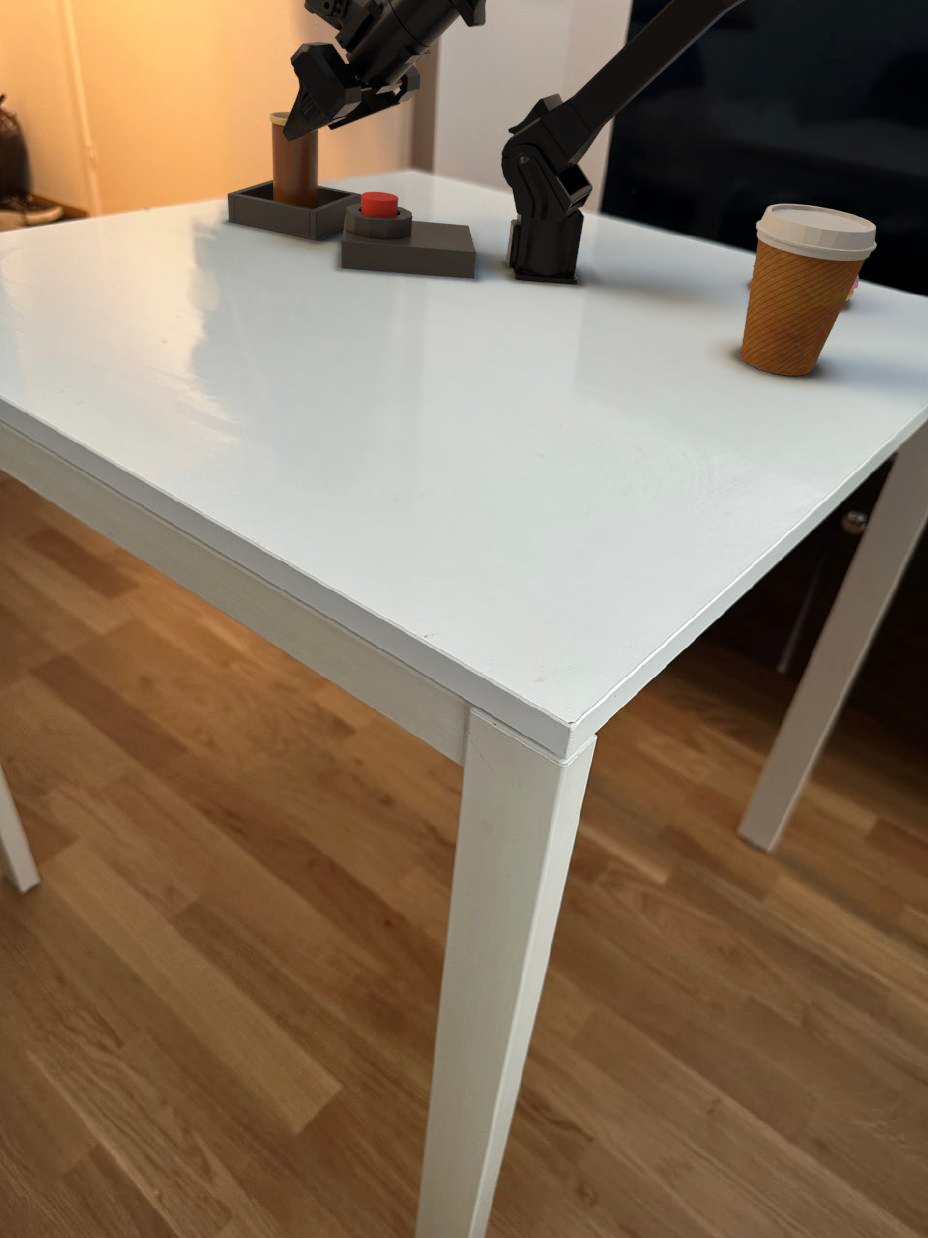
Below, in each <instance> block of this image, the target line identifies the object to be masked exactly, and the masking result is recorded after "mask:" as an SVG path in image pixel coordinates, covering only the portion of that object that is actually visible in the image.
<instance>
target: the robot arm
mask: <svg viewBox="0 0 928 1238" xmlns="http://www.w3.org/2000/svg"><path fill="white" fill-rule="evenodd" d="M744 1H745V0H670V1H669V2H668V3H667V4H666V5H665V6H664V7H663V8H662V9H661V10H660V11H658V13H657V14H655V16H653V18H652V19H650V21H648V22H647V24H645V25H644V26H643V27H642V28H641V29H640V30H639V31H638V33H636V35H634V36H633V37H632V38H631V39H630V40H629V41H628V42H627V43H626V44H625V45H624V46H623V47H622V48H621V49H620V50H619V51H618V52H617V53H615V55H614V56H613V57H611V58H610V60H608V61H607V63H606V64H605V65H603V67H601V68H600V69H599V70H598V71H597V73H595V74H594V75H593V76H592V77H591V78H590V79H589V80H588V81H587V82H586V83H585V84H584V85H582V87H580V89H579V90H578V91H577V92H576V93H574V95H572V96H571V97H569V98H568V99H567V100H564V101H563V100H562V97H561V95H560V93H558V92H557V93H554V94H551V95H548V96H545V97H542V98H539V99H538V101H537V102H536V103H535V104H534V105H533V107H532V108H531V109H530V111H529V112H528V114H527V115H526V116H525V118H524V119H523V120H522V121H520V122H519V123H518V124H517V125H514V126H511V127H509V128H508V129H507V132H508V133H510V134H511V135H512V136H510V137H509V139H508V140H507V141H506V142H505V144H504V145H503V148H502V151H501V160H500V161H501V163H500V168H501V170H502V176H503V178H504V181H505V182H506V184H507V185H508V186H509V187H510V188H511V190H512V195H513V200H514V205H515V210H516V214H517V215H516V219H515V218H514V219H512V220H511V221H510V226H509V235H508V244H507V251H506V263H507V265H508V266H507V267H509V269H510V270H511V272H512V275H513V278H514V279H516V280H522V281H535V282H547V283H559V284H572V285H574V284H576V285H577V284H578V282H579V278H578V275H577V274H576V269H577V263H578V257H579V252H580V251H579V249H580V245H581V238H582V232H583V228H584V227H583V226H584V220H585V215H584V214H583V213H582V211H581V210H580V208H583V207H584V206H585V205H586V203H587V201H588V199H589V198H590V195H591V194H592V191H593V189H594V187H593V184H592V183H591V181H590V180H589V178H588V177H587V175H586V173H585V171H584V170H583V169H582V167H581V165H580V164H579V163H580V161H581V160H582V159H583V157H584V156H585V154H586V153H587V152H588V151H589V149H590V148H591V146H592V145H593V143H594V142H595V140H596V139H597V137H598V136H599V134H600V132H601V131H602V130H603V128H604V127H605V126H606V125H607V124H608V123H609V122H610V121H611V120H612V119H613V118H614V117H615V116H617V114H619V112H621V111H622V110H623V109H625V107H626V106H627V105H628V104H629V103H630V102H632V100H634V99H635V98H636V97H637V96H638V95H639V94H640V93H641V92H643V90H644V89H645V88H647V86H649V85H650V84H651V83H652V82H654V80H655V79H656V78H657V77H658V76H659V75H661V74H662V73H663V72H664V71H665V70H666V69H668V67H670V65H672V64H673V62H675V61H676V60H677V59H678V58H679V57H680V56H681V55H682V54H683V53H685V52H686V50H688V48H690V47H691V46H692V45H693V44H694V43H695V42H697V40H699V39H700V37H702V35H704V34H705V33H706V32H707V31H708V30H709V29H710V28H711V27H712V26H713V25H715V23H717V22H718V21H719V20H720V19H721V18H722V17H724V15H725V14H726V13H728V11H731V9H733V8H735V7H736V6H738V5H740V4H741V3H743V2H744ZM486 3H487V0H304V3H303V7H304V9H305V10H306V11H307V12H309V13H310V14H312V15H314V14H315V15H316V16H318V17H319V18H320V19H321V20H323V21H324V22H325V23H327V25H329V26H331V27H332V28H333V29H335V30H336V31H338V33H337V34H336V35H335V36H334V39H335V40H336V41H337V43H338V44H339V45H338V46H340V47H341V49H343V50H345V52H346V53H345V58H346V60H347V62H348V63H346V61H345V60H344V58H343V57H342V55H341V54H340V53H339V51H338V50H337V48H336V47H335V45H334V44H333V43H331V42H330V43H329V42H323V41H316V42H315V41H314V42H304V43H301V45H300V46H299V47H298V48H297V50H295V52H294V53H293V54H292V55H291V56H290V65H291V66H292V68H293V72H294V74H295V76H296V77H297V81H298V87H299V88H298V91H297V94H296V96H295V100H294V101H293V104H292V107H291V110H290V111H289V112H290V114H289V116H288V119H287V121H286V124H285V126H284V128H283V131H282V132H283V135H284V136H285V137H286V139H287V140H288V141H292V140H294V139H296V138H299V137H301V136H304V135H306V134H308V133H311V132H313V131H315V130H318V131H319V130H320V129H322V128H324V127H327V128H328V129H329V130H331V131H334V130H337V129H339V128H342V127H345V126H347V125H349V124H353V123H355V122H357V121H360V120H363V119H365V118H368V117H371V116H374V115H376V114H378V113H381V112H384V111H387V110H389V109H391V108H394V107H397V106H400V105H401V103H404V102H408V101H409V100H410V99H411V98H413V96H414V95H416V93H417V92H418V91H420V88H421V74H420V72H419V71H418V69H417V68H416V66H415V64H416V63H417V62H418V63H419V62H424V61H426V59H427V58H428V57H429V56H430V55H431V54H432V52H431V51H430V48H431V47H432V46H433V45H434V43H435V42H437V41H438V39H439V38H440V37H441V36H442V35H443V34H444V33H445V32H446V31H447V30H448V29H449V28H450V27H451V26H452V25H453V24H454V23H455V22H456V21H457V20H458V18H459V17H461V19H462V20H463V22H464V23H465V25H466V26H467V27H468V28H476V27H484V26H485V25H486V21H487V18H486V15H487V14H486ZM398 88H399V91H398V92H397V93H396V92H395V91H397V90H398Z"/></svg>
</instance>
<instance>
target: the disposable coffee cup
mask: <svg viewBox="0 0 928 1238" xmlns="http://www.w3.org/2000/svg"><path fill="white" fill-rule="evenodd" d="M755 224H756V225H755V229H756V230H757V232H756V237H757V238H758V240H757V246H756V247H757V248H756V252H755V253H756V254H755V259H754V264H753V266H754V267H753V270H752V278H751V285H750V290H749V297H748V303H747V309H746V317H745V322H744V329H743V337H742V343H741V349H740V354H739V355H740V358H741V359H742V361H744V362H745V363H747V364H748V365H750V366H752V367H754V368H756V369H759V370H762V371H765V372H768V373H771V374H777V375H783V376H784V375H785V376H803V375H804V376H805V375H807V374H810V373H812V372H813V370H814V368H815V365H816V364H817V361H818V359H819V357H820V354H821V353H822V350H823V349H824V346H825V344H826V343H827V340H828V338H829V336H830V334H831V331H832V330H833V328H834V326H835V323H836V322H837V320H838V317H839V315H840V313H841V312H842V311H841V310H842V309H843V307H844V305H845V302H847V301H846V299H847V296H848V294H849V292H850V290H851V288H852V286H853V284H854V282H855V279H856V278H857V276H859V273H860V271H861V269H862V267H863V265H864V263H865V261H866V259H867V258H870V255H871V253H872V252H874V251H875V250H876V247H877V246H878V244H877V242H876V241H875V240H876V239H875V238H876V231H877V226H876V225H875V224H874V223H873V222H872V221H870V220H867V219H866V218H863V217H860V216H858V215H855V214H852V213H849V212H846V211H845V212H844V211H842V210H841V211H840V210H837V209H833V208H827V207H821V206H816V205H808V204H799V203H798V204H797V203H777V204H772V205H769V206H767V207H766V209H765V211H764V213H763V215H762V217H761V219H760V220H757V222H756V223H755Z"/></svg>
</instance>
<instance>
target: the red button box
mask: <svg viewBox="0 0 928 1238" xmlns="http://www.w3.org/2000/svg"><path fill="white" fill-rule="evenodd" d="M361 203H362V202H361ZM361 203H358V204H354V205H351V206H347V210H346V215H345V222H344V229H342V230H343V231H342V237H341V262H340V263H341V264H340V265H341V266H340V267H341V269H342V270H356V271H366V272H367V271H368V272H380V273H394V274H405V275H406V274H408V275H418V276H430V277H431V276H433V277H444V278H456V279H457V278H458V279H470V280H474V278H475V277H474V276H475V265H476V255H477V251H476V248H475V244H474V240H473V236H472V234H471V230H470V226H469V225H468V224H467V225H466V224H455V223H445V222H444V223H443V222H431V221H420V220H413V212H412V211H410V210H408V209H407V208H405V207H402V206H398V214H397V216H395V217H379V216H371V215H367V214H363V213H361Z"/></svg>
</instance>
